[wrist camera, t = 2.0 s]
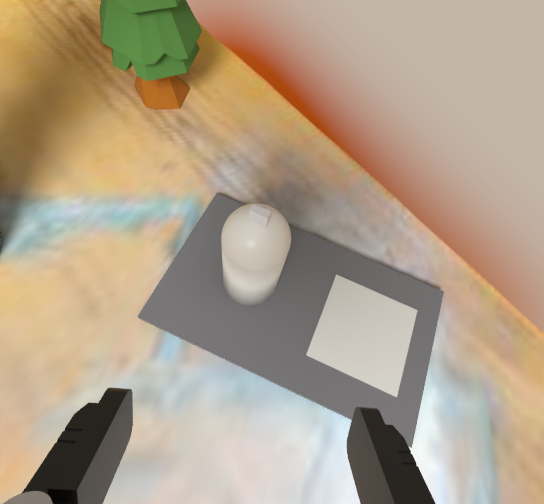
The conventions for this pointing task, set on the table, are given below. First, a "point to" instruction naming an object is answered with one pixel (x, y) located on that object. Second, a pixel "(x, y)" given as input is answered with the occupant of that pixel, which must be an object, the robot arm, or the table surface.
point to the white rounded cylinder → (254, 252)
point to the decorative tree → (152, 45)
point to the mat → (308, 322)
